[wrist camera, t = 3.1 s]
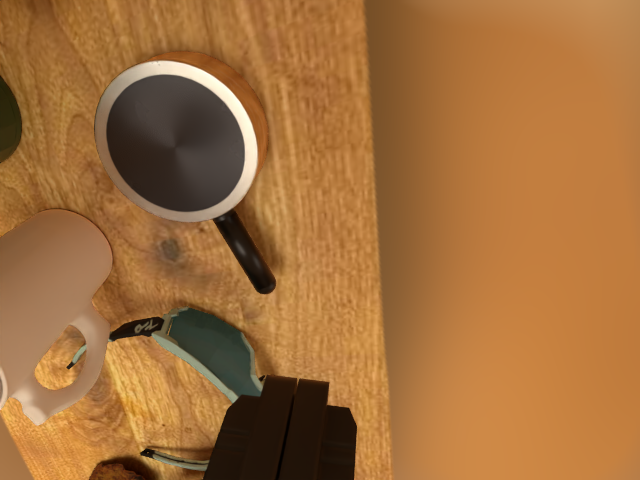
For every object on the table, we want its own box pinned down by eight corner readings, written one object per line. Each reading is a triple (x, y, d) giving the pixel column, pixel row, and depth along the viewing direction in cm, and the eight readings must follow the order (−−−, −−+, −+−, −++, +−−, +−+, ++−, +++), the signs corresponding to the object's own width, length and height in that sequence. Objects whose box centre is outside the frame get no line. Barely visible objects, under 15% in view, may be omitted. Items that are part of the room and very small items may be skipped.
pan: (88, 93, 30) (59, 105, 28) (219, 21, 28) (201, 27, 25) (219, 294, 36) (206, 321, 33) (337, 250, 34) (334, 275, 31)
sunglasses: (313, 424, 40) (296, 482, 36) (167, 447, 46) (138, 499, 42) (220, 279, 35) (188, 328, 31) (68, 326, 41) (24, 372, 37)
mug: (0, 237, 36) (-159, 353, 25) (61, 184, 33) (-88, 287, 23) (109, 337, 39) (7, 476, 28) (171, 295, 36) (86, 430, 26)
